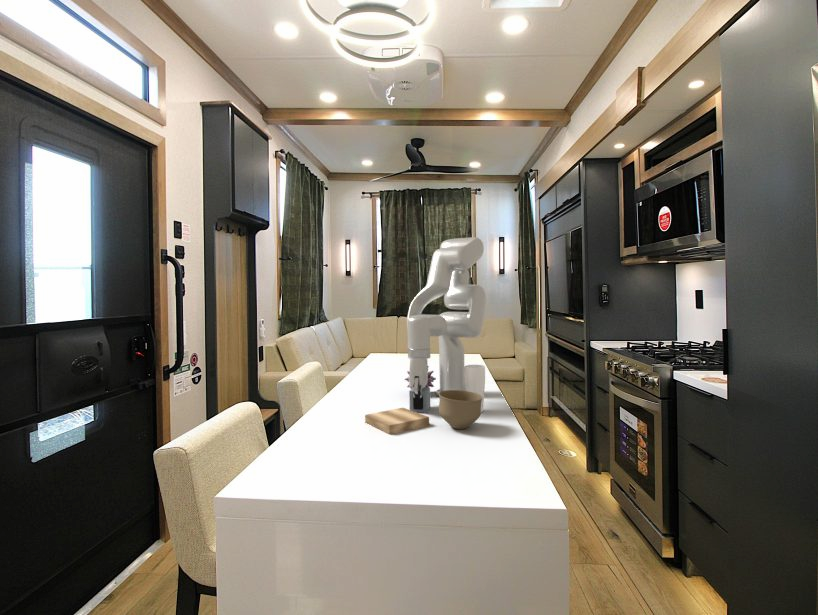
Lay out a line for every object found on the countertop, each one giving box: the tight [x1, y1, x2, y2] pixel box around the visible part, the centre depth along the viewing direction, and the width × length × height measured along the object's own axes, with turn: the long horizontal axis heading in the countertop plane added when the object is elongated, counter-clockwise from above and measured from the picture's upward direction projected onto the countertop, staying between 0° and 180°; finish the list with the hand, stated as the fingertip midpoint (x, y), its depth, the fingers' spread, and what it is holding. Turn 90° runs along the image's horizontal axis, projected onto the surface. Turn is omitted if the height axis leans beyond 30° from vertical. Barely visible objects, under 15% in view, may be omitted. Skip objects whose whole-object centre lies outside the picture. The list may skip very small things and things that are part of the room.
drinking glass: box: [464, 364, 486, 413], centre depth 151 cm, size 7×7×15 cm
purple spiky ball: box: [404, 365, 437, 388], centre depth 176 cm, size 12×12×12 cm
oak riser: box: [364, 407, 430, 435], centre depth 139 cm, size 14×14×3 cm
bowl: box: [438, 390, 482, 430], centre depth 134 cm, size 13×13×10 cm
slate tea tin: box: [408, 387, 431, 413], centre depth 155 cm, size 6×6×7 cm
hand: (420, 406), depth 155 cm, fingers open, 6 cm apart
